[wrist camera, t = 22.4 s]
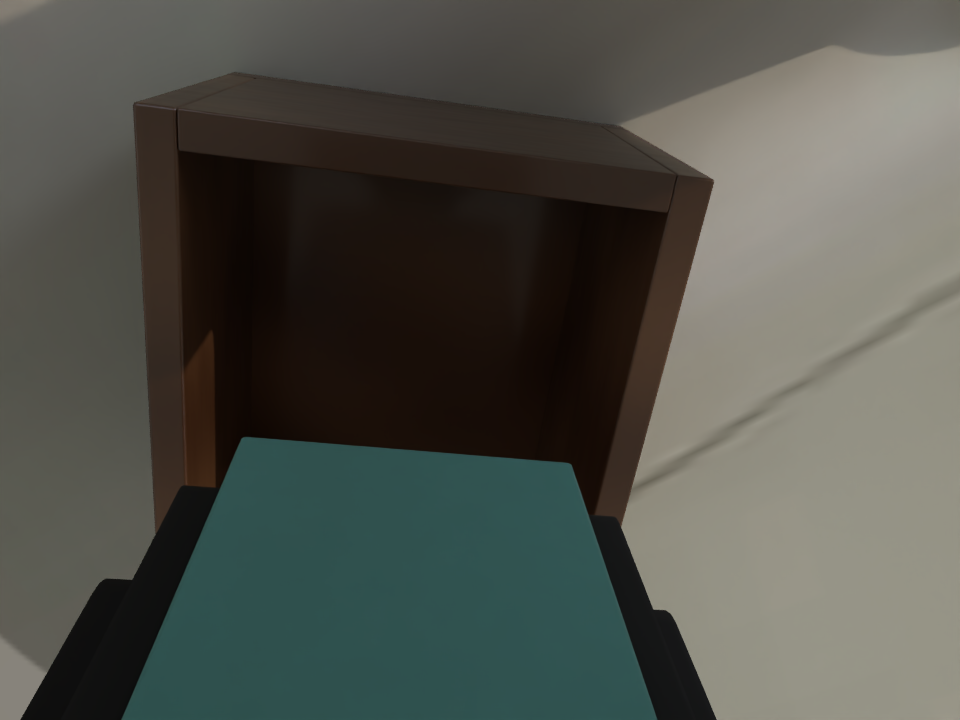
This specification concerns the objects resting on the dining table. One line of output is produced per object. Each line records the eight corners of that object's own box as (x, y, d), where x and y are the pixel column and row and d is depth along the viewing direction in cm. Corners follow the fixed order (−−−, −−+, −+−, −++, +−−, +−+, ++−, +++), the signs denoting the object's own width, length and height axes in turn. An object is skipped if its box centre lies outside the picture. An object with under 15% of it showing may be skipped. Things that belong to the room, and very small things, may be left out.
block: (239, 681, 12) (141, 1040, 8) (241, 434, 10) (112, 732, 6) (520, 692, 12) (570, 1034, 8) (572, 461, 10) (671, 750, 6)
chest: (232, 71, 23) (131, 101, 15) (622, 126, 25) (715, 179, 17) (232, 485, 30) (160, 658, 22) (541, 509, 31) (580, 679, 23)
